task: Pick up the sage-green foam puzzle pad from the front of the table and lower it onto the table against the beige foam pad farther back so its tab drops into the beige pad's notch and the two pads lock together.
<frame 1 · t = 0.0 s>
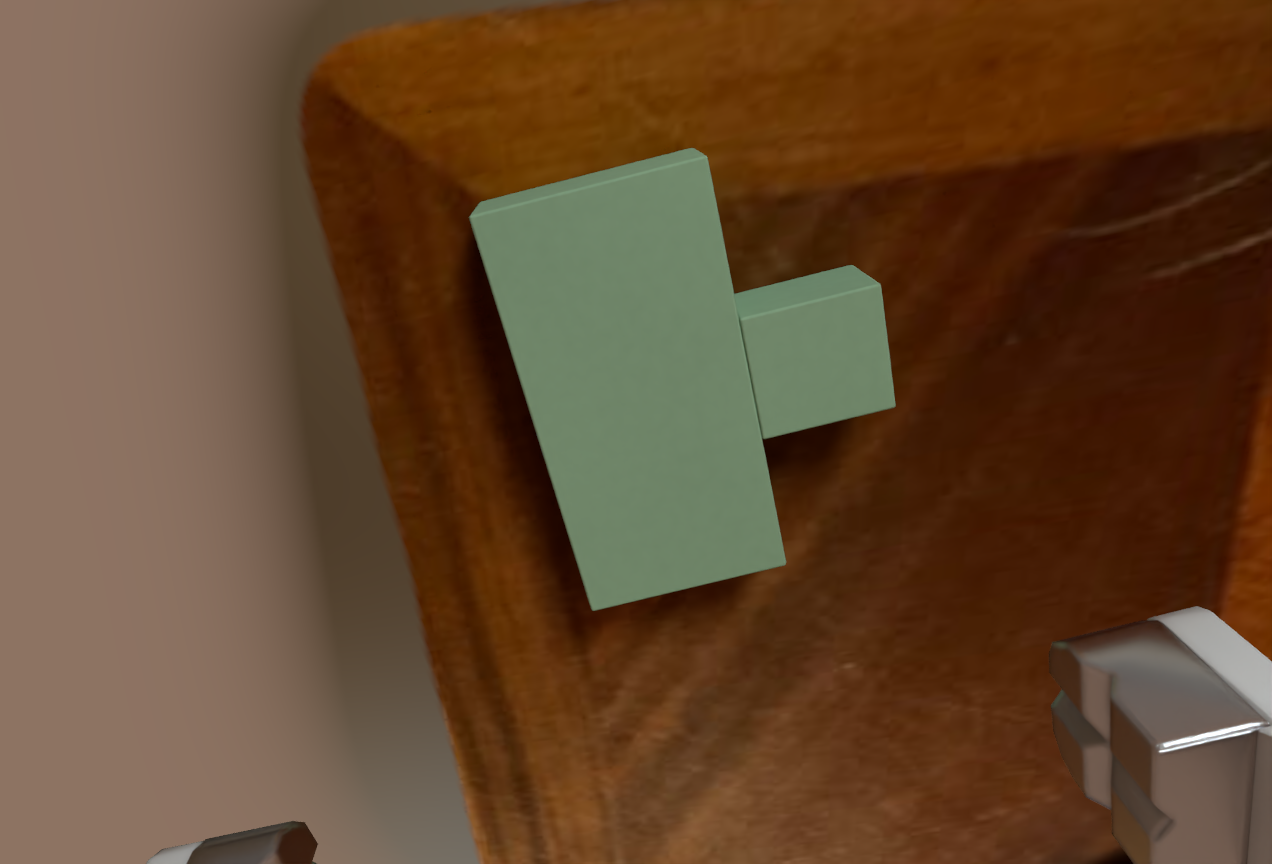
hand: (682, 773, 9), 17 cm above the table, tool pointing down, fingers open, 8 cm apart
green pad: (637, 377, 25), on the table
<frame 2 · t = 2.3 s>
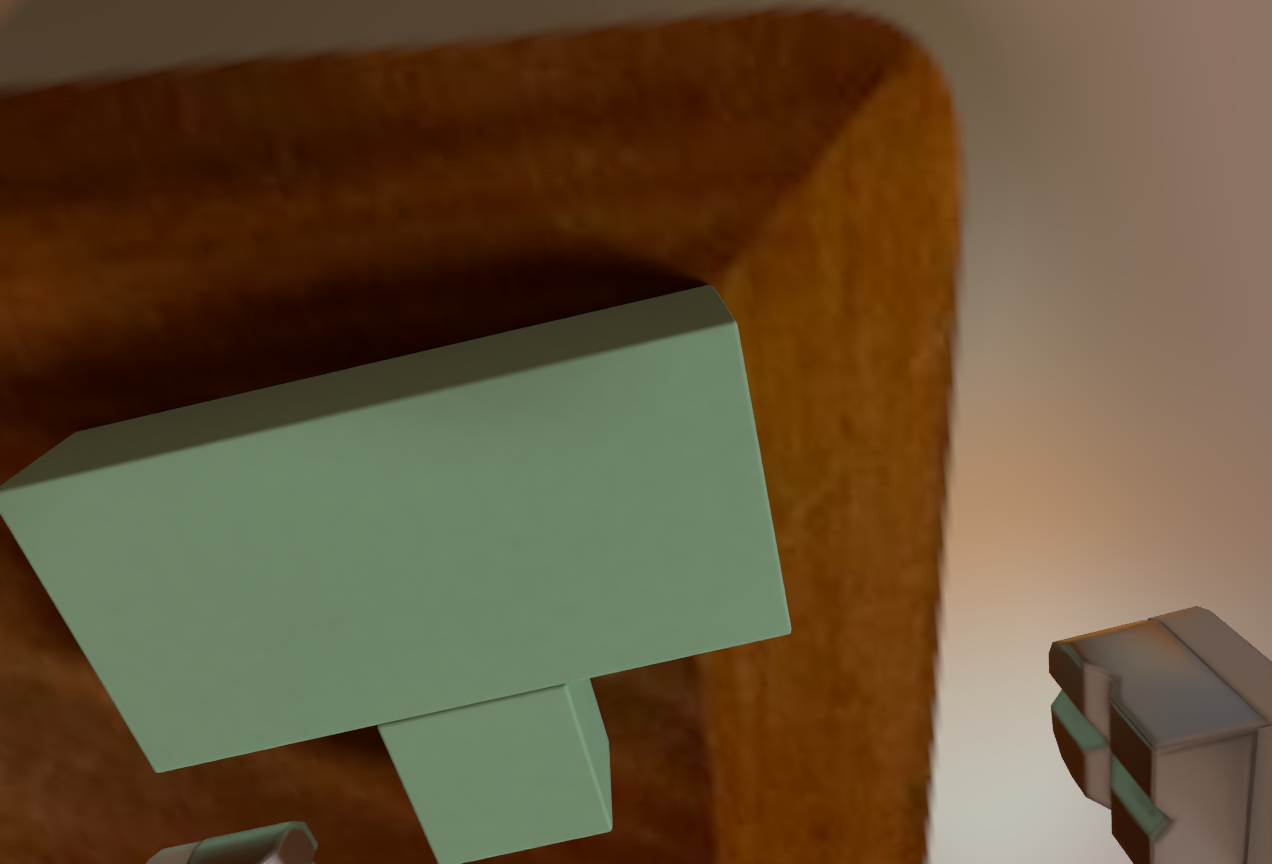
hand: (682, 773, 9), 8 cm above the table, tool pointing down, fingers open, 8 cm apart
green pad: (440, 500, 16), on the table
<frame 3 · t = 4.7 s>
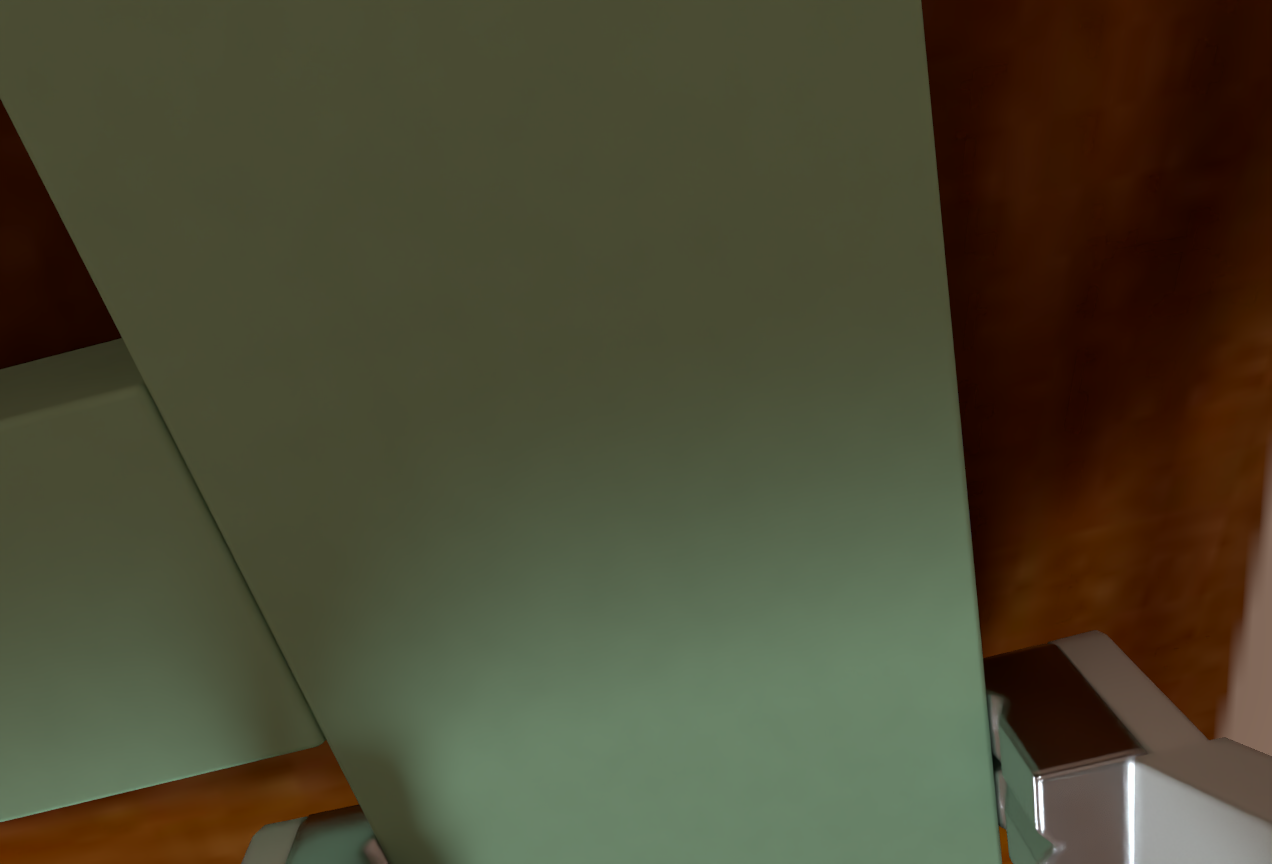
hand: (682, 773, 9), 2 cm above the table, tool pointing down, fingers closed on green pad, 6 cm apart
green pad: (592, 391, 9), on the table, touching gripper
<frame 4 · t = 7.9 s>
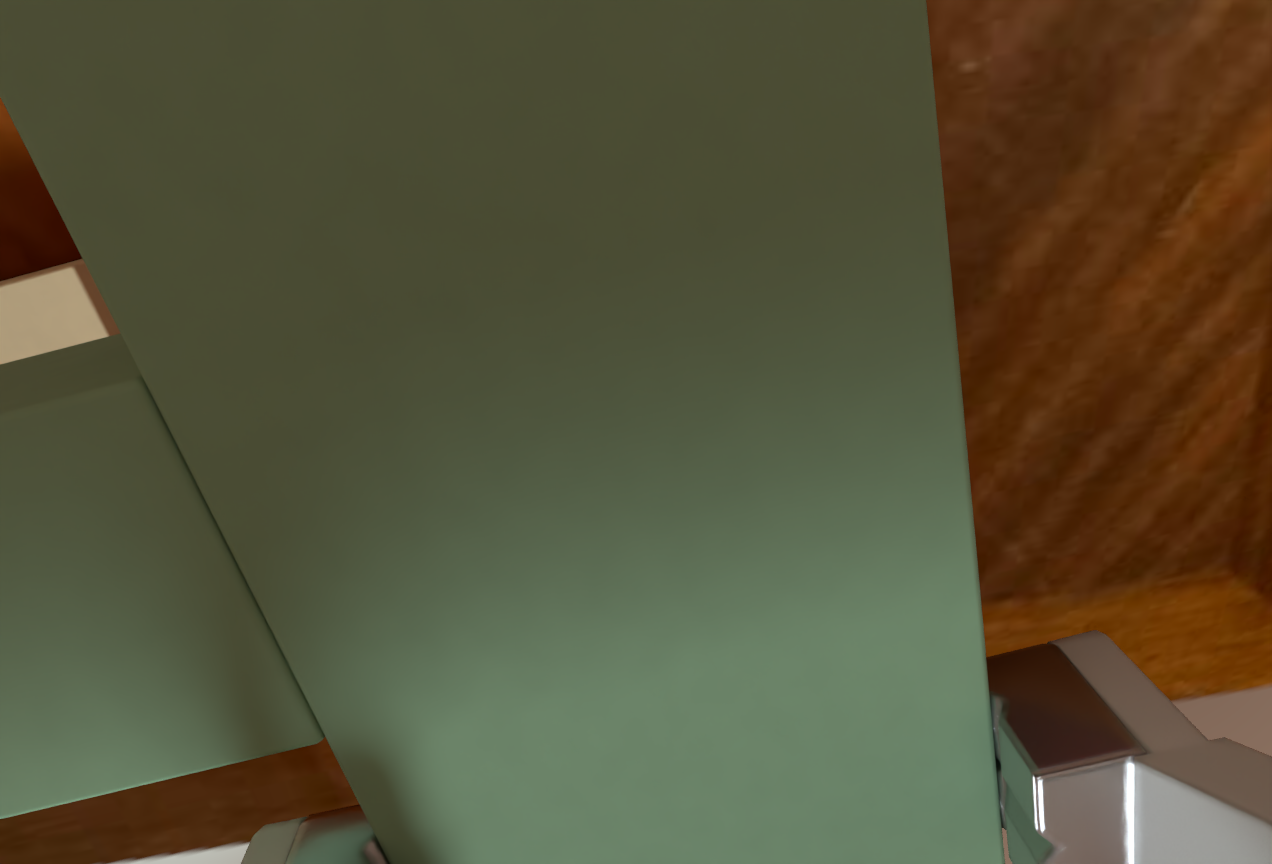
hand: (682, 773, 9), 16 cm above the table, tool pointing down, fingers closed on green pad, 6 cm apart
green pad: (593, 387, 9), point 14 cm above the table, touching gripper
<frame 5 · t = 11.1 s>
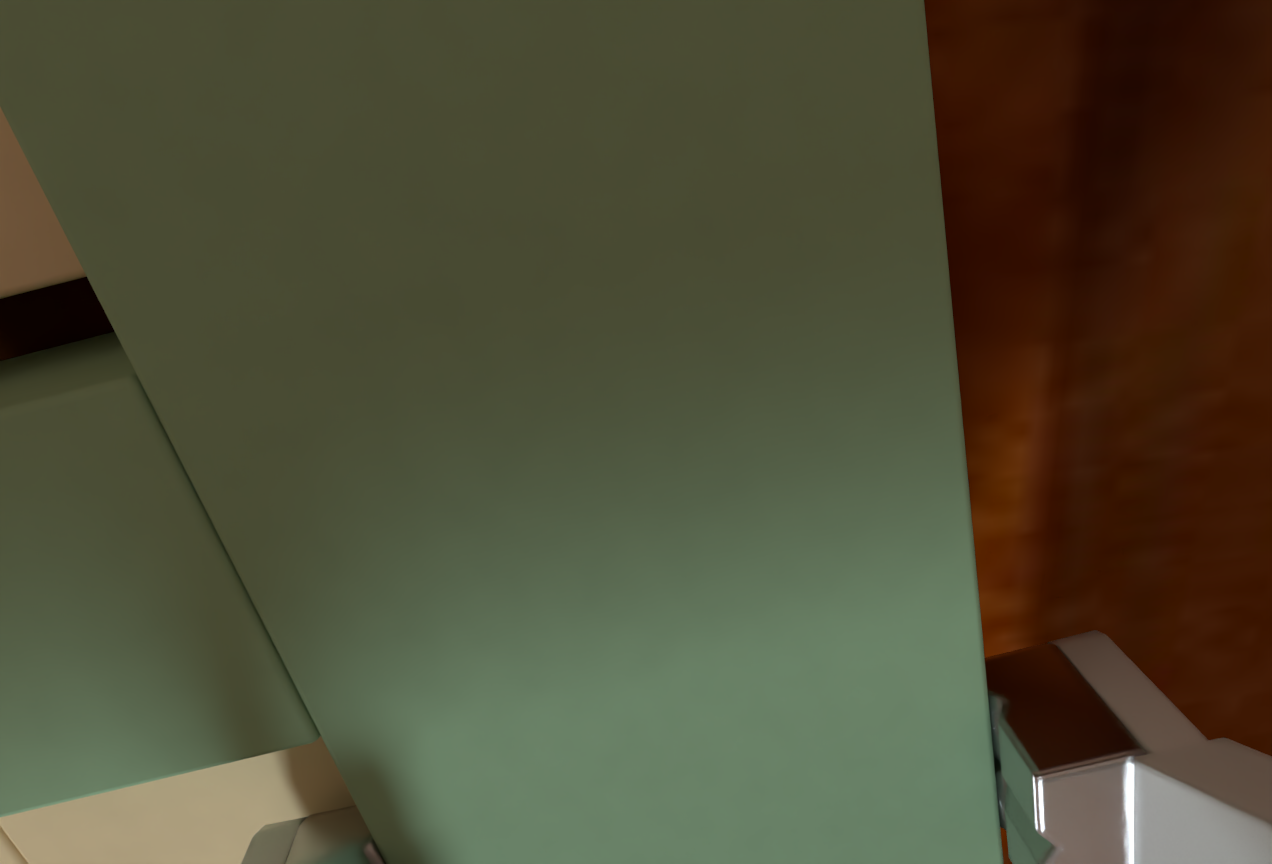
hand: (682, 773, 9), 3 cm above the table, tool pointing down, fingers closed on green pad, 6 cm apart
green pad: (590, 385, 9), point 1 cm above the table, touching gripper
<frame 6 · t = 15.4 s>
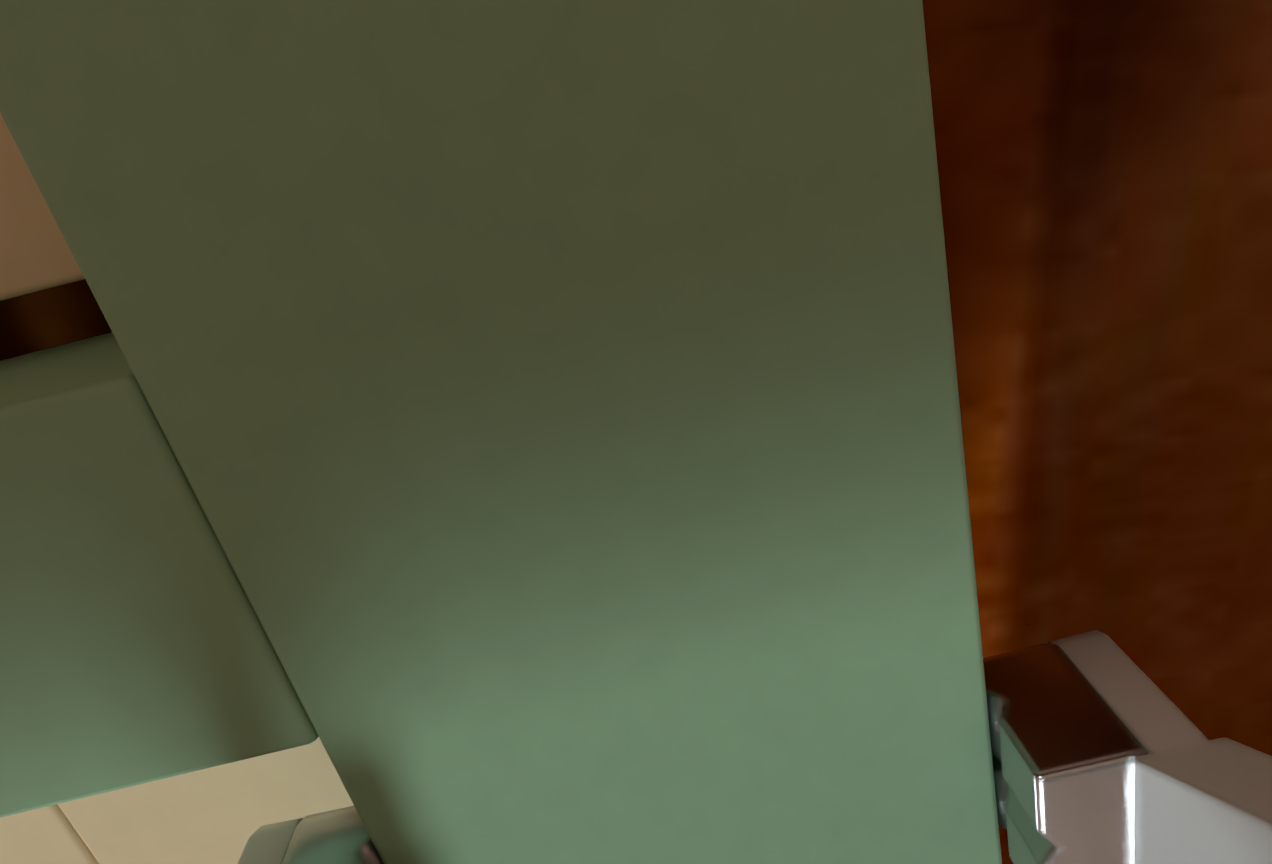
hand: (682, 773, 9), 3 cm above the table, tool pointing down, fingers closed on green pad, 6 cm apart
green pad: (589, 386, 9), point 2 cm above the table, touching gripper
when the fingers open (3 cm above the table, at t = 19.2 s): green pad drops 2 cm, on the table.
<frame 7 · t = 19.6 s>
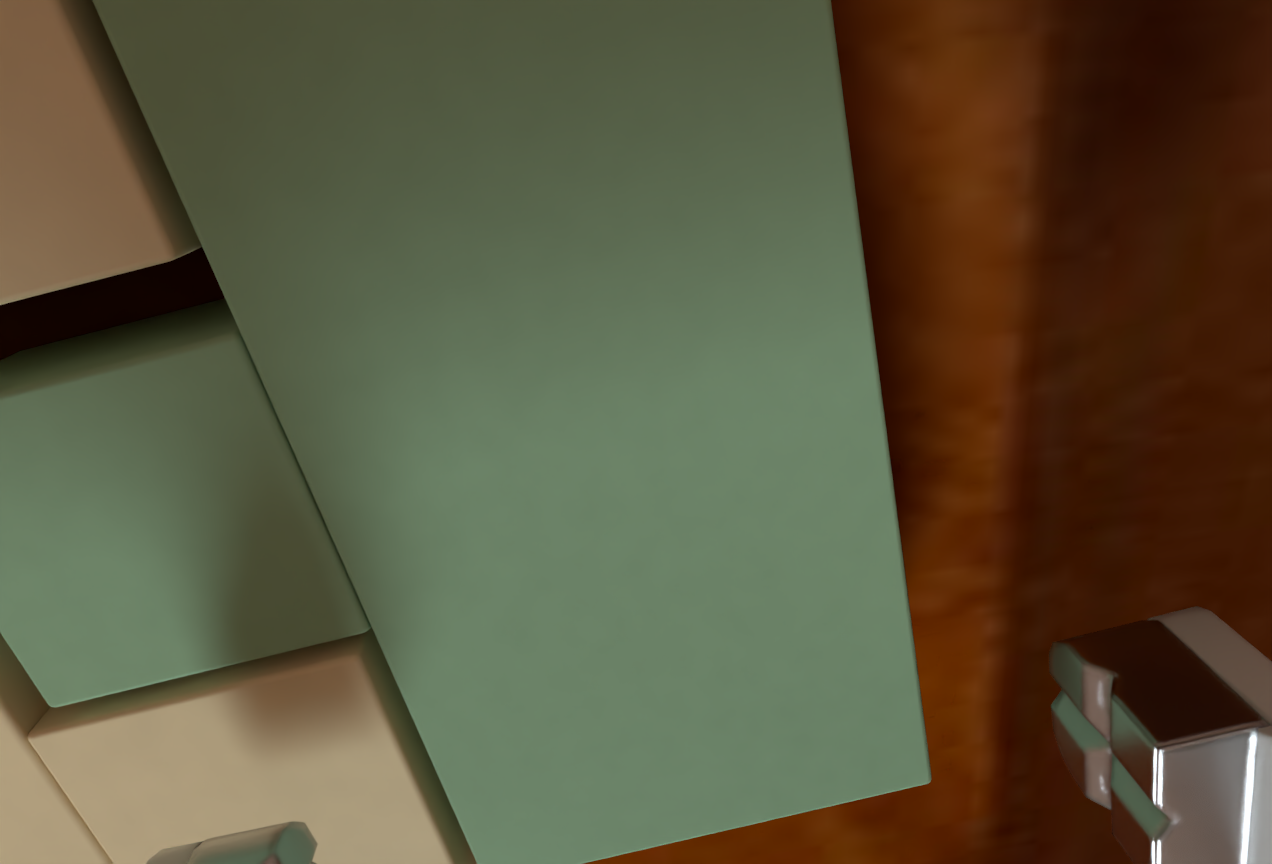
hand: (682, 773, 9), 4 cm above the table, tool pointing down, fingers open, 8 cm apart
green pad: (587, 352, 11), on the table
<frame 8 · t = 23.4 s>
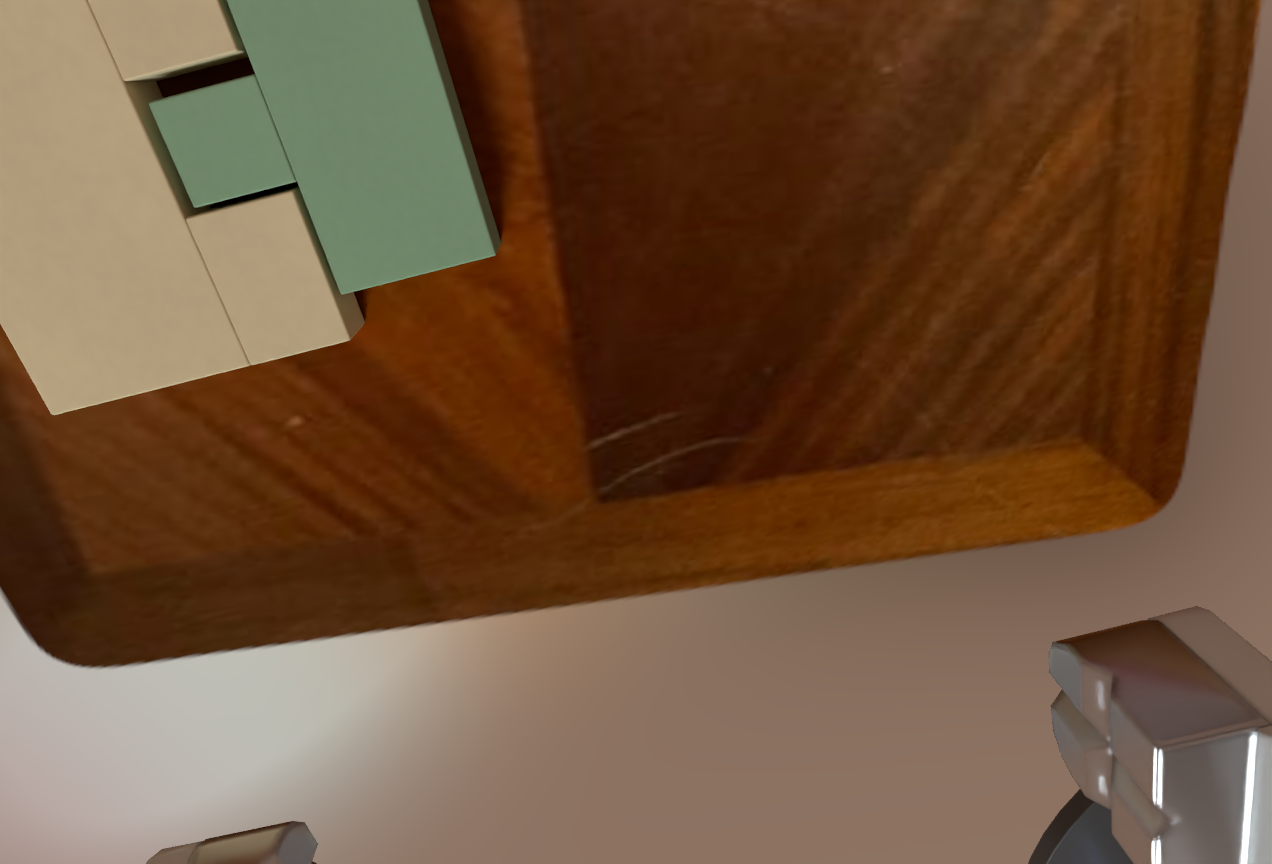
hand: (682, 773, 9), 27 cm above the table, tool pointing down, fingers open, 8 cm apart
beige pad: (134, 159, 31), on the table
green pad: (375, 104, 31), on the table
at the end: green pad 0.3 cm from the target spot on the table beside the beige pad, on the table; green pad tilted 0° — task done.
